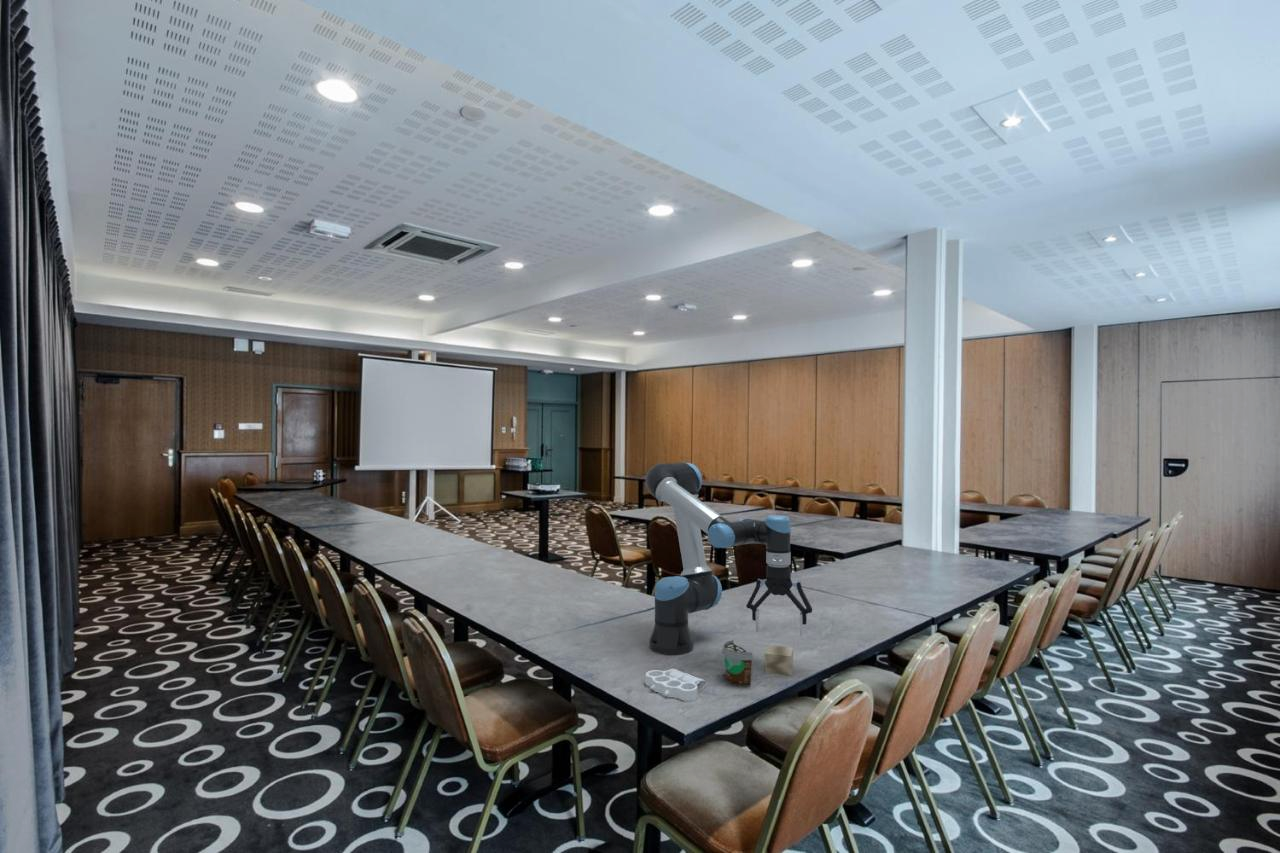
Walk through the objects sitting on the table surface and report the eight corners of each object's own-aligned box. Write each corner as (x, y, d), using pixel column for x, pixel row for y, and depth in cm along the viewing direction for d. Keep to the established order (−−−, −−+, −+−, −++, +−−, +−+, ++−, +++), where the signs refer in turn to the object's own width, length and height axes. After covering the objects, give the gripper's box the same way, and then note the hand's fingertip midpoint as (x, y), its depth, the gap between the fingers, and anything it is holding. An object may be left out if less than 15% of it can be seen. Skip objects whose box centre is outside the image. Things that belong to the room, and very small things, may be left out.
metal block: (765, 672, 189) (765, 653, 189) (767, 663, 197) (767, 645, 197) (791, 675, 187) (791, 656, 187) (792, 666, 194) (793, 647, 194)
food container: (714, 674, 187) (714, 641, 187) (732, 671, 189) (732, 639, 190) (734, 690, 176) (734, 655, 176) (753, 687, 178) (753, 652, 178)
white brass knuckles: (714, 692, 175) (680, 707, 165) (668, 674, 188) (634, 687, 178) (714, 680, 175) (681, 695, 165) (668, 663, 188) (634, 676, 178)
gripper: (737, 565, 193) (737, 632, 192) (819, 569, 185) (820, 639, 185) (740, 560, 200) (741, 625, 199) (819, 564, 193) (820, 632, 192)
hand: (779, 632), depth 192 cm, fingers open, 13 cm apart
